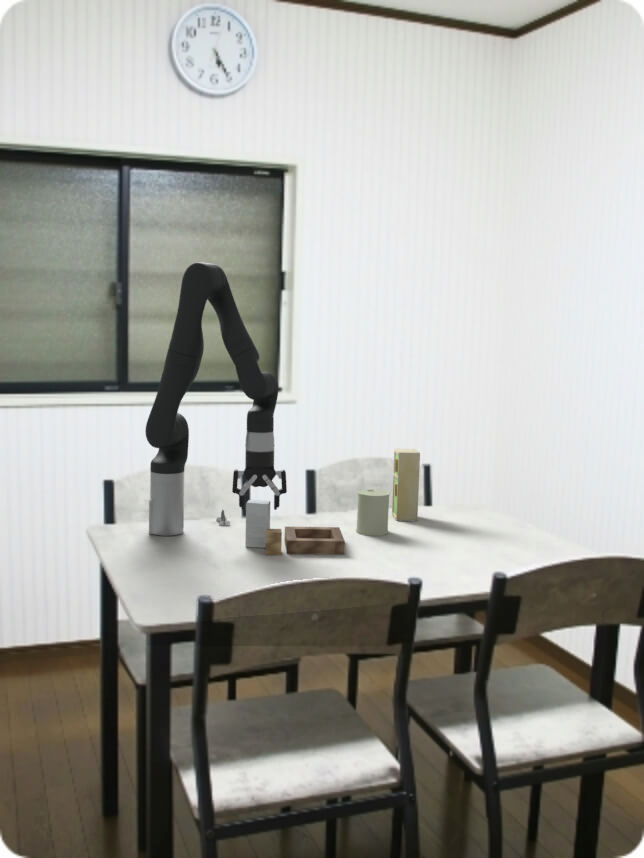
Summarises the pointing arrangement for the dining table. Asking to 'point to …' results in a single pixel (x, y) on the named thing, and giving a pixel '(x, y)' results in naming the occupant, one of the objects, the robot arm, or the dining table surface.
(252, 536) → the skincare box
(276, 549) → the short oak peg
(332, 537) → the brown wooden square frame
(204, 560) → the dining table surface
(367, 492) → the can
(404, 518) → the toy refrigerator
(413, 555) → the dining table surface
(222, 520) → the grey spired figurine
